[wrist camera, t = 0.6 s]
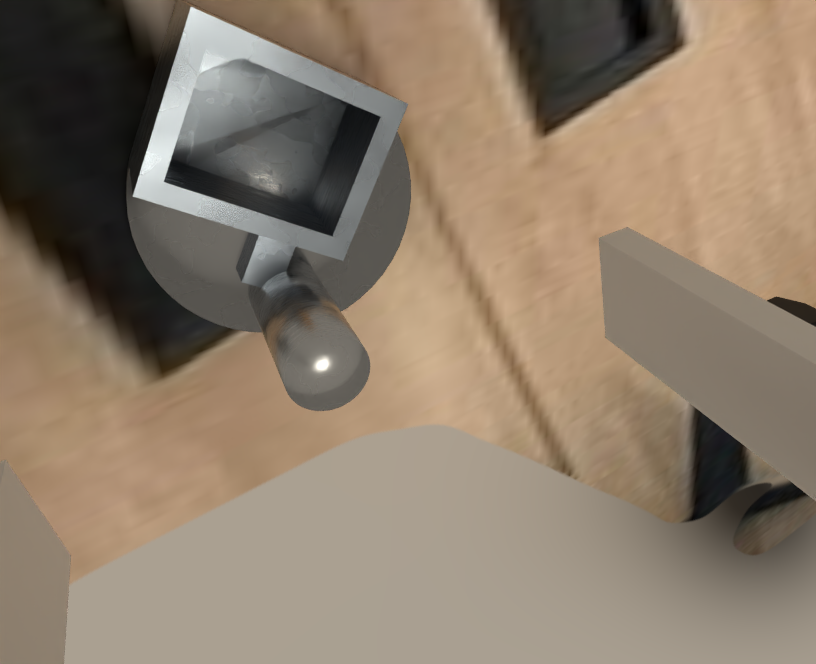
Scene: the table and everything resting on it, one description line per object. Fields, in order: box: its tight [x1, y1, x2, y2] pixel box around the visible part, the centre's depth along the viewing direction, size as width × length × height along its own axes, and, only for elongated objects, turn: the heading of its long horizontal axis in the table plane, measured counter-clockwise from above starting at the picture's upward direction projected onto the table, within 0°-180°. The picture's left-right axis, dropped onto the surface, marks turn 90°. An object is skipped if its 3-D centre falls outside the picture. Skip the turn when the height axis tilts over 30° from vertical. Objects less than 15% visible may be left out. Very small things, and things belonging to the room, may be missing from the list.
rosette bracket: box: [126, 0, 411, 411], centre depth 34 cm, size 15×15×11 cm
